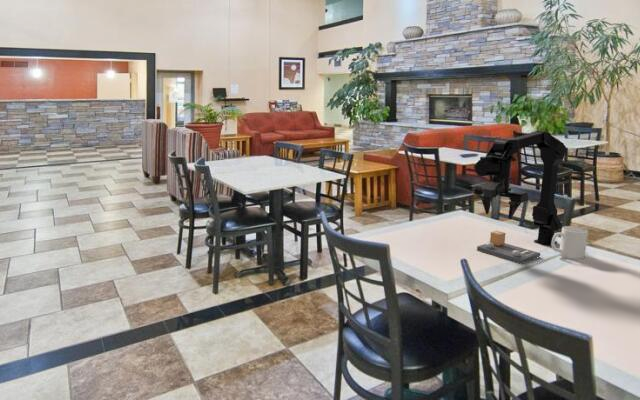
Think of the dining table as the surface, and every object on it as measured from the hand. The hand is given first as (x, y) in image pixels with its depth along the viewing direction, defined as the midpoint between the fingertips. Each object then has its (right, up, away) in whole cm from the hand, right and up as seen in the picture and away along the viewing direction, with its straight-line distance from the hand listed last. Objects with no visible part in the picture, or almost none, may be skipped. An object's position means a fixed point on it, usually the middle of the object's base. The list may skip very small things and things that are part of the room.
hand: (498, 216), depth 179 cm
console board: (+4, -14, +1) cm, 14 cm away
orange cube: (+2, -11, +7) cm, 13 cm away
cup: (+24, -15, -1) cm, 28 cm away
